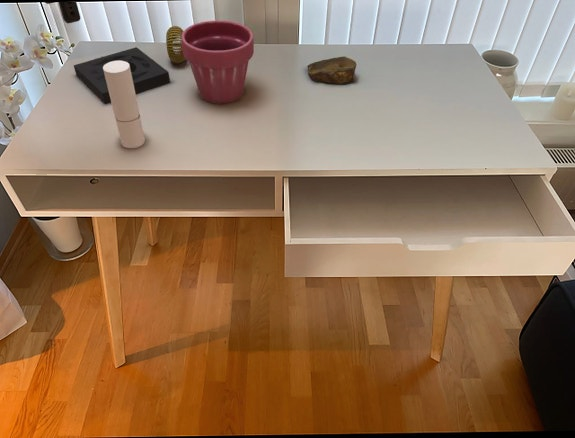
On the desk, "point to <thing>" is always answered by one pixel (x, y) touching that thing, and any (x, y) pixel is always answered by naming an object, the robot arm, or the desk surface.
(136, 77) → the base pad
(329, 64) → the decorative stone
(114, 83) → the tube
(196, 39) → the flower pot
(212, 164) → the desk surface
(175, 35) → the sculpture
